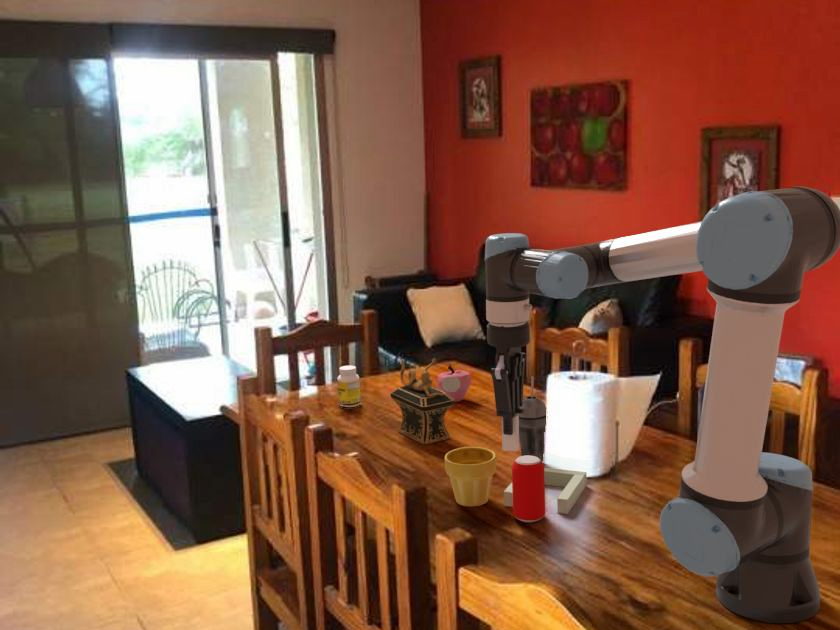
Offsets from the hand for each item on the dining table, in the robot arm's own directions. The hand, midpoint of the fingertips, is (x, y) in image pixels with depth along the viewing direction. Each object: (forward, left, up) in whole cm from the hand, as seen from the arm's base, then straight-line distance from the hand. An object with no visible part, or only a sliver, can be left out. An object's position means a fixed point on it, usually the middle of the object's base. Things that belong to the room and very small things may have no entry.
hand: (510, 449), depth 162 cm
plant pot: (+13, +13, -17) cm, 26 cm away
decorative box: (+49, +41, -17) cm, 66 cm away
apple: (+77, +43, -17) cm, 90 cm away
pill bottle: (+65, +70, -17) cm, 97 cm away
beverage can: (+9, 0, -17) cm, 19 cm away
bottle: (+45, -31, -17) cm, 57 cm away
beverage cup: (+37, +8, -17) cm, 41 cm away
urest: (+20, 0, -17) cm, 27 cm away
